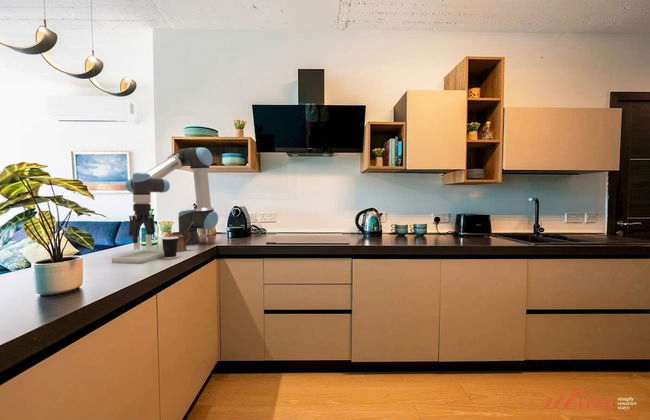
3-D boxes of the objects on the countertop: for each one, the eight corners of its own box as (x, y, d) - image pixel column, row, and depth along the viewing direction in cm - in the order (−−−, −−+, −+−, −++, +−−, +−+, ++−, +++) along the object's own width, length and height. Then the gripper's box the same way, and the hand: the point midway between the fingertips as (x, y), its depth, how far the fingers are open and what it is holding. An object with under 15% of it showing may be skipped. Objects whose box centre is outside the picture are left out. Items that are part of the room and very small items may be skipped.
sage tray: (144, 254, 155) (144, 250, 154) (170, 255, 152) (170, 251, 152) (112, 262, 135) (111, 257, 135) (141, 263, 132) (141, 258, 132)
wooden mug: (194, 251, 164) (193, 221, 164) (167, 253, 159) (167, 221, 158) (195, 249, 172) (194, 220, 172) (170, 250, 167) (169, 220, 167)
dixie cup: (178, 256, 150) (178, 236, 150) (178, 258, 143) (178, 238, 143) (162, 257, 147) (161, 237, 146) (161, 260, 140) (160, 238, 140)
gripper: (150, 203, 153) (151, 245, 154) (118, 203, 133) (119, 251, 134) (162, 203, 152) (163, 245, 153) (132, 203, 132) (133, 252, 133)
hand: (143, 248), depth 143 cm, fingers open, 7 cm apart
